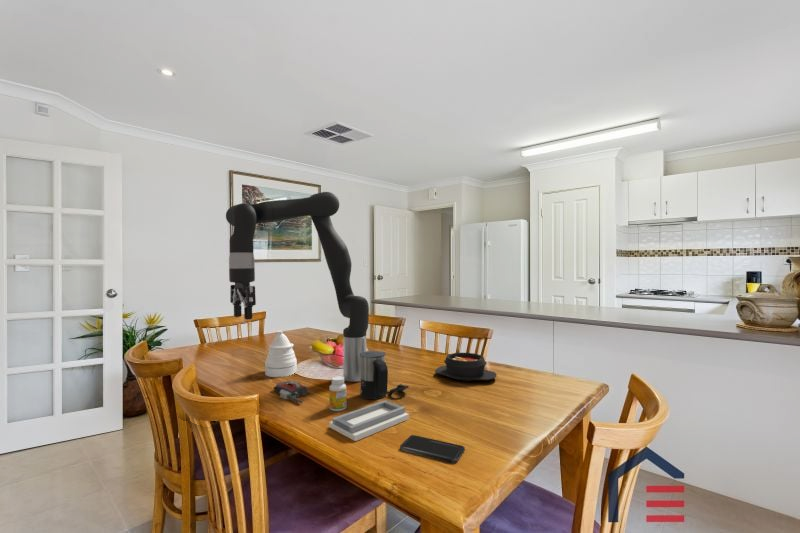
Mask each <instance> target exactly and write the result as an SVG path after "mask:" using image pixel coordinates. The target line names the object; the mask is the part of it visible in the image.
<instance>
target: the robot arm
mask: <svg viewBox="0 0 800 533" xmlns="http://www.w3.org/2000/svg"><path fill="white" fill-rule="evenodd" d="M339 209H340V201H339V199H338V197H337V196H336V194H334V193H333V192H331V191H321V192H317V193H314V194H311V195H310V196H309V197H302V198H293V199H292V198H290V199H277V200H267V201H261V202H258V203H252V204H251V203H250V204H249V203H246V202H244V203H243V202H242V203H239V204H238V203H237V204H234V205H232V206H230V207H229V208H228V209H227V211H226V212H225V219H226V221H227V223H228V224H229V225H231V226H233V232H232V233H233V234H231V235H230V237H229V257H228V274H229V275H228V277H229V278H228V280H229V283H233V284H230V303H231V304H232V306H233V317H234V318H241V317H242V315H244V319H245V320H252V319H253V307H254V306H256V304H257V303H256V302H257V297H256V286H255V285H251V284H250V283H253V282H255V281H256V277H255V276H256V271H255V269H256V268H255V255H254V254H255V253H254V237H255V231H256V226H257V224H267V223H275V222H281V221H286V220H291V219H295V218H296V219H297V218H302V217H305V216H307V217H308V216H310V218H311V221H312V222H313V225H314V228H315V230H316V233H317V236H318V238H319V241H320V245H321V248H322V250H323V256H324V258H325V260H326V264H327V267H328V270H329V273H330V277H331V280H332V283H333V286H334V290H335V295H336V301H337V305H338V310H339V313H340V314H341V315H342V316H343V317H344V318H347V319H349V324H348V326H347V327H345V328H344V329H343V330H342V332H343V333H342V340H343V342H342V346H343V347H342V351H343V353H342V354H343V355H342V356H343V359H342V361H343V364H342V365H343V367H342V368H343V370H342V371H343V376H342V377H344V381H346V382H361V375H360V355H359V354H360V353H362V352H367V331H368V328H369V318H370V316H369V314H370V308H369V307H370V306H369V302H368V300H367V298H365V297H364V296H360V295H355V294H354V292H353V288H352V286H351V282H350V280H351V275H352V274H351V273H352V260H351V259H352V258H351V256H350V253H349V252H350V251H349V249H348V247H347V245H346V243H345V241H344V240H343V239H342V238H341V236H340V235H339V234H338V232H337V231H336V230H335V227H334V226H333V222H332V219H331V217H332V216H334V215H335V214H336V213H337V212H338V211H339ZM242 304H243V307H244V309H243V310H244V311H243V313H244V314H242Z"/></svg>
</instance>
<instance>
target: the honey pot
mask: <svg viewBox="0 0 800 533" xmlns="http://www.w3.org/2000/svg"><path fill="white" fill-rule="evenodd" d="M275 334H276V336H275V337H274V339H273V341H272V343H271V344H269V346H268V348H269V351H268V353H267V356H266V359H265V361H264V362H265V363H264V365H265V366H264V368H265V369H264V372H265V373H264V374H265V376H267V377H270V378H281V377H283V378H285V377H288V376H289V375H290V376H292V374H293V375H295V374H296V373H297V372H298V362H297V360H298V359H297V357H296V354H295V351H294V349H293V347H294V343H292V342H291V341H290V340H289V339H288V337H287V336H286V335H285V334H284V332H283V330H276V333H275ZM296 371H297V372H296ZM295 372H296V373H295ZM294 373H295V374H294ZM284 376H285V377H284Z"/></svg>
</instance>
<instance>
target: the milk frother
mask: <svg viewBox="0 0 800 533" xmlns="http://www.w3.org/2000/svg"><path fill="white" fill-rule="evenodd" d="M359 355H360V375H361V381H360V393H359V396H360V398H362V399H365V400H378V399H382V398H385V397H386V396H387V395H388V394H389V395H390V394H391V393H392V394H393V393H396V392H397V393H398V392H399V393H402V392H404V391H405V390H407V389H409V385H405V384H402V383H400V384H397V385H396V387H394V388H391V389H390V390H389V391H388V380H389V379H388V377H389V376H388V375H389V373H388V372H389V370H388V366H387V363H386V361H385V356H386V352H385V351H381V350H380V351H379V350H368V351H367V350H366V352H362V353H360V354H359Z"/></svg>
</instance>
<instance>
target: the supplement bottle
mask: <svg viewBox="0 0 800 533" xmlns="http://www.w3.org/2000/svg"><path fill="white" fill-rule="evenodd" d="M328 391H329V410H331V411H333V412H342V411H344V410H346V409H347V406H348V404H347V399H348V398H347V384H346V383H345V380H344V377H343V376H339V375H337V376H332V378H331V384H330V385H329V390H328Z"/></svg>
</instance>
